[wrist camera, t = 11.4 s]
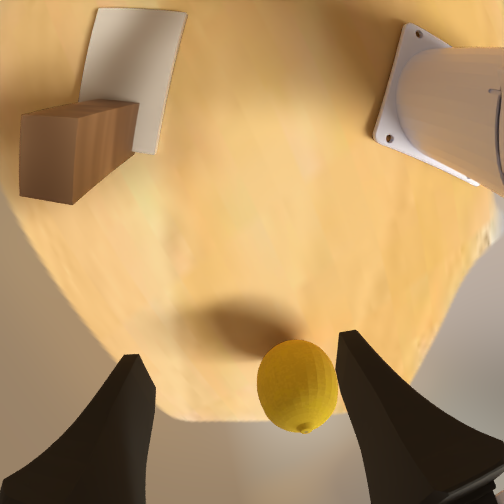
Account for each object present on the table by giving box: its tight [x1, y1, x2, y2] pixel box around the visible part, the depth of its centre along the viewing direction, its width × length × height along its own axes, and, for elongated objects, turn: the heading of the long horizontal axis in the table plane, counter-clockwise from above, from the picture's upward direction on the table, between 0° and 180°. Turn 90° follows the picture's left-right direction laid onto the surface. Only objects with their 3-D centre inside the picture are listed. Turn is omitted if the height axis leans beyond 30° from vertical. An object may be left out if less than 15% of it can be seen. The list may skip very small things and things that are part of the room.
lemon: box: [257, 340, 338, 434], centre depth 21 cm, size 6×6×8 cm
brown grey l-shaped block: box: [19, 8, 188, 205], centre depth 11 cm, size 5×8×8 cm, turn 166°
